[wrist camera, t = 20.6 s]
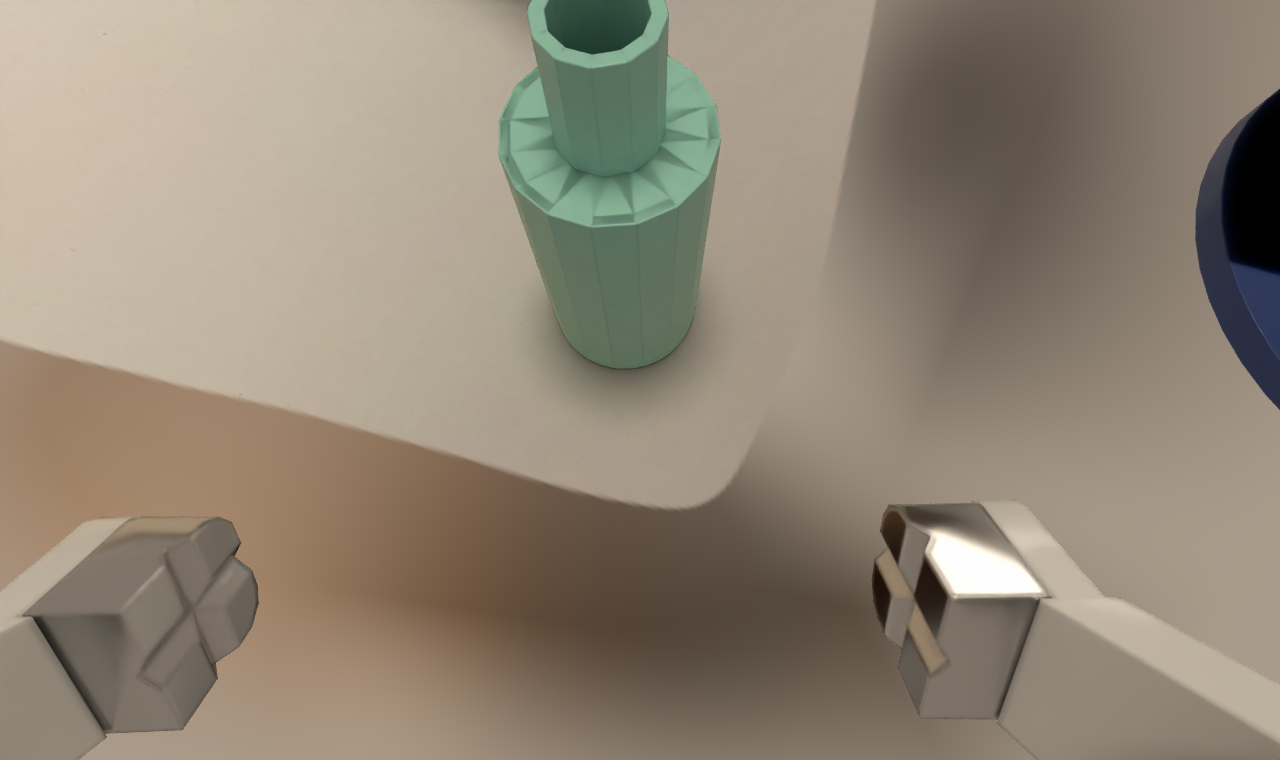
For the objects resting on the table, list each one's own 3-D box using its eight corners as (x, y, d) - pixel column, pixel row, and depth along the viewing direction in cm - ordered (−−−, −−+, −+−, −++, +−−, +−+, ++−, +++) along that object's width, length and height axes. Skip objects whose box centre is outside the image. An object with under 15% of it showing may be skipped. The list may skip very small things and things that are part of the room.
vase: (711, 265, 30) (769, -56, 15) (669, 387, 29) (687, 159, 13) (585, 228, 31) (521, -113, 16) (536, 344, 29) (411, 82, 14)
